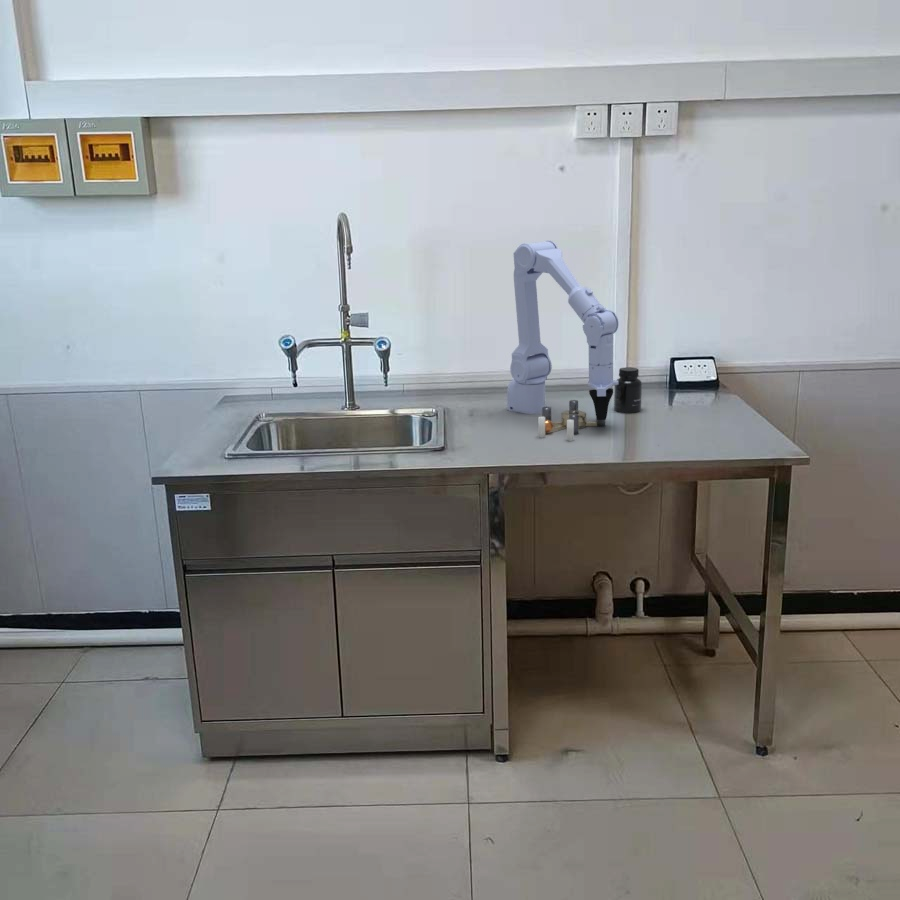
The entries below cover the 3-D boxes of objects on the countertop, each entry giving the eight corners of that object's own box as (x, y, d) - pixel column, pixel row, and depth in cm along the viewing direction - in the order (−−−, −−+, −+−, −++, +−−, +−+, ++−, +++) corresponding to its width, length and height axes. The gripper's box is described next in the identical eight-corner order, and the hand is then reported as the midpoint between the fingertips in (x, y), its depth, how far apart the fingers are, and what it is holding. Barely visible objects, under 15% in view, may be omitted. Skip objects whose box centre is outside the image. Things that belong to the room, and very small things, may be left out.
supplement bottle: (641, 418, 223) (642, 372, 219) (613, 418, 224) (614, 371, 220) (640, 411, 229) (642, 366, 225) (614, 410, 230) (615, 365, 227)
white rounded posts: (537, 438, 206) (537, 417, 205) (548, 431, 211) (549, 411, 209) (570, 443, 202) (570, 422, 200) (581, 436, 206) (582, 416, 205)
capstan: (539, 434, 208) (539, 416, 207) (542, 416, 223) (542, 399, 221) (606, 435, 206) (606, 416, 205) (604, 417, 220) (604, 399, 219)
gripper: (619, 368, 200) (619, 426, 204) (617, 357, 214) (617, 411, 218) (587, 369, 201) (588, 427, 205) (587, 357, 215) (588, 411, 219)
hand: (601, 419), depth 211 cm, fingers closed, pressing on capstan
